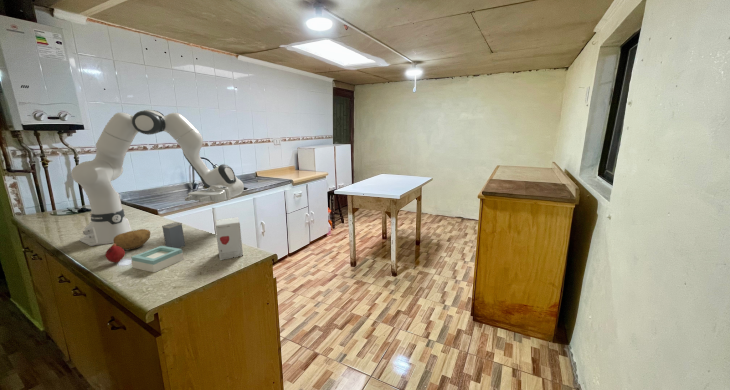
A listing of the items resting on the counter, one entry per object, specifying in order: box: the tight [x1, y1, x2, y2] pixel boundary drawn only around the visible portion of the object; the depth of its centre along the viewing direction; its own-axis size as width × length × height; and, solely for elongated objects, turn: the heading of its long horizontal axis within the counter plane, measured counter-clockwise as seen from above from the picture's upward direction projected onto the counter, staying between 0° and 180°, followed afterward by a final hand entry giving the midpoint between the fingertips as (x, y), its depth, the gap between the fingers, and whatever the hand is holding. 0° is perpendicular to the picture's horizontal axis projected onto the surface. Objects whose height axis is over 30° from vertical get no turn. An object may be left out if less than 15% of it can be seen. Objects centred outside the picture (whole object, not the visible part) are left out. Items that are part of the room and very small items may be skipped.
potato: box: [113, 228, 151, 250], centre depth 131 cm, size 10×14×8 cm
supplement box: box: [215, 216, 244, 261], centre depth 121 cm, size 9×9×15 cm
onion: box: [105, 243, 126, 264], centre depth 115 cm, size 6×6×8 cm
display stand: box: [131, 245, 185, 273], centre depth 115 cm, size 12×12×4 cm
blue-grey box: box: [161, 221, 186, 249], centre depth 130 cm, size 4×6×11 cm
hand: (192, 200), depth 137 cm, fingers open, 8 cm apart
